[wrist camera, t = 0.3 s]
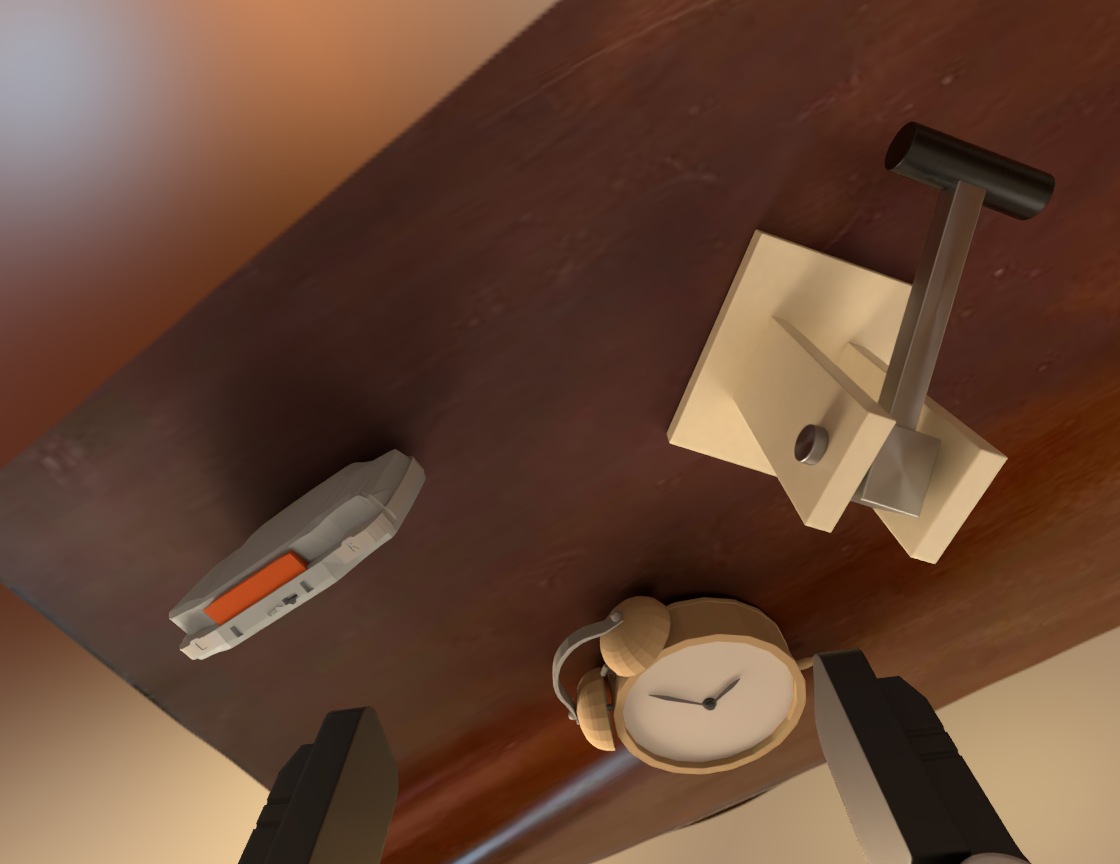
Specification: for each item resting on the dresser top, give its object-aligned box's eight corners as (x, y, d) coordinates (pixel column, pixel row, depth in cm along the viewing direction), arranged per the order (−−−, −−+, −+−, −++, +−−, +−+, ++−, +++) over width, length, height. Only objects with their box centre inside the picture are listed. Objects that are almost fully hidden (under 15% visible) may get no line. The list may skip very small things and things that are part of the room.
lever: (885, 137, 25) (928, 107, 23) (1015, 187, 26) (1070, 162, 23) (784, 480, 25) (816, 486, 22) (917, 521, 25) (962, 531, 23)
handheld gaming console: (252, 584, 40) (181, 686, 33) (215, 550, 39) (134, 648, 32) (439, 461, 37) (405, 545, 29) (403, 420, 36) (359, 497, 28)
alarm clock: (763, 786, 42) (534, 773, 38) (733, 720, 47) (525, 702, 43) (844, 654, 38) (594, 624, 34) (803, 595, 42) (577, 562, 38)
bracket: (755, 228, 31) (863, 291, 20) (928, 289, 32) (1129, 384, 21) (666, 433, 36) (710, 584, 24) (820, 481, 37) (935, 649, 25)
